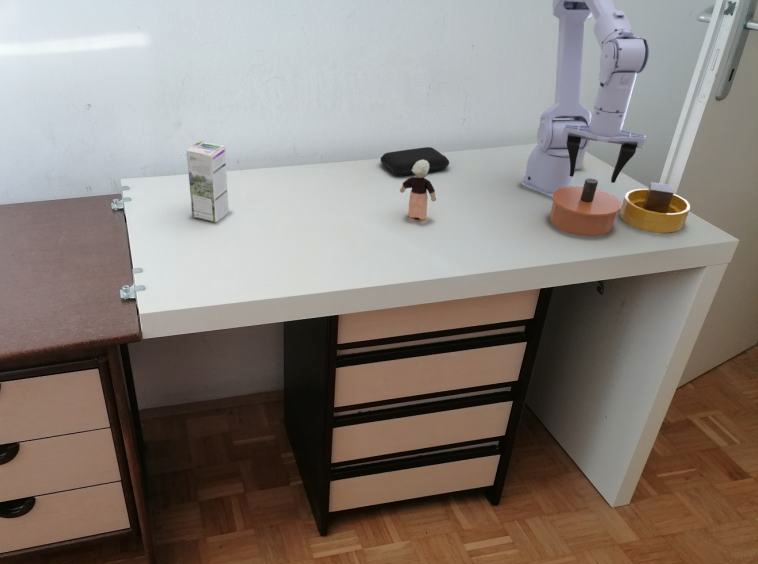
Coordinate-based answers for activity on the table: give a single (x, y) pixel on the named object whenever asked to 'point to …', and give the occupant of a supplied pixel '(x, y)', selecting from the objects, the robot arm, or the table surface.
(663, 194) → the walnut block
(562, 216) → the pot
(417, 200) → the grandmother figurine
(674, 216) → the bowl
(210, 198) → the syrup box
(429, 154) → the carrying case
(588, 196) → the lid
